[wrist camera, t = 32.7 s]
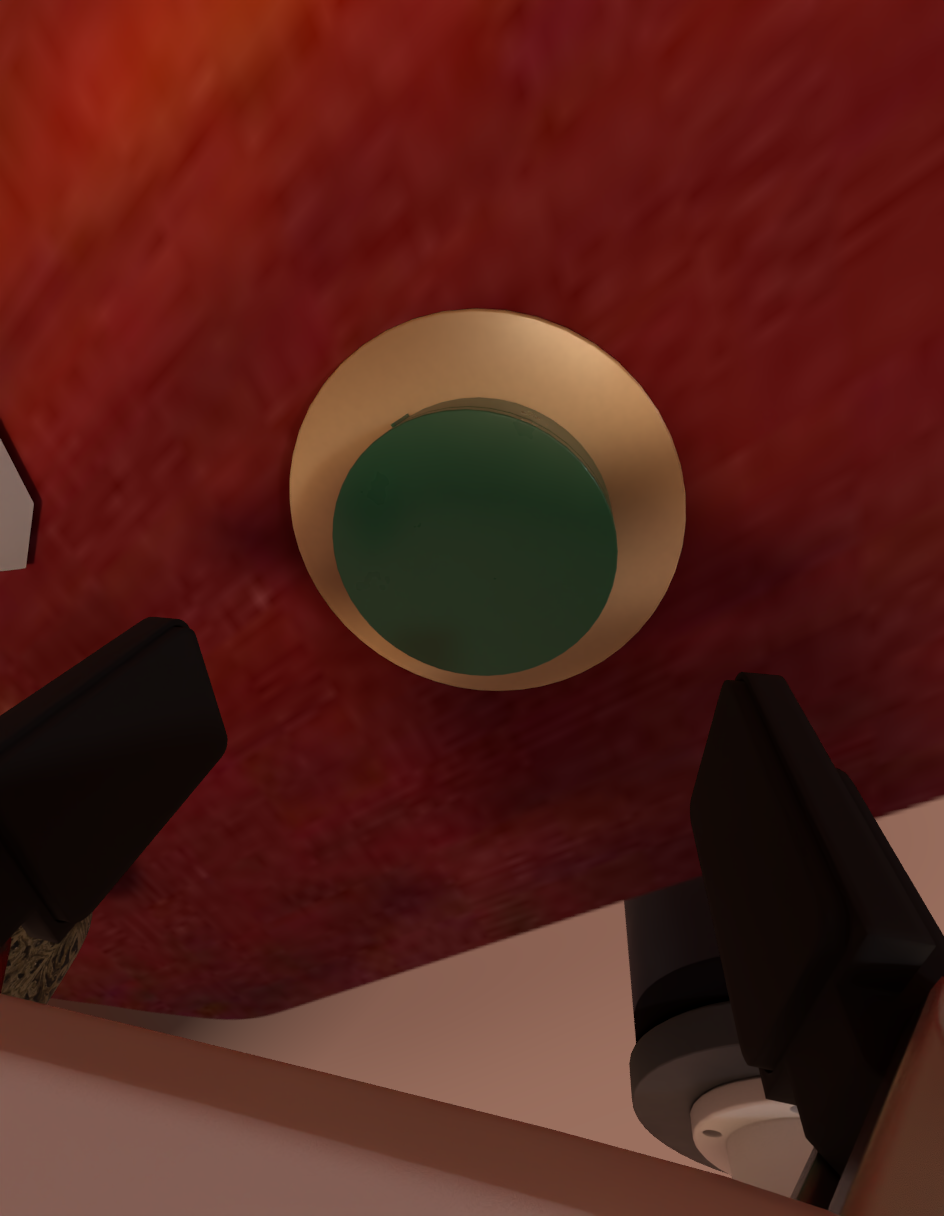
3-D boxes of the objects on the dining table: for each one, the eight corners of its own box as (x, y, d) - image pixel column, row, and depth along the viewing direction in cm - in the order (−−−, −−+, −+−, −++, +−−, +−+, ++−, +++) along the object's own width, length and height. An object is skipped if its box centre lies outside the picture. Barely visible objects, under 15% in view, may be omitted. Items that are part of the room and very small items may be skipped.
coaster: (740, 609, 15) (745, 618, 14) (426, 720, 19) (423, 729, 19) (571, 194, 11) (572, 190, 10) (222, 451, 15) (211, 456, 15)
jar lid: (304, 479, 14) (273, 499, 13) (534, 332, 12) (528, 336, 10) (441, 671, 17) (428, 706, 16) (655, 588, 14) (664, 620, 13)
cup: (170, 888, 29) (44, 1071, 22) (80, 896, 31) (-60, 1063, 24) (78, 795, 25) (-103, 975, 19) (-14, 812, 28) (-205, 977, 21)
